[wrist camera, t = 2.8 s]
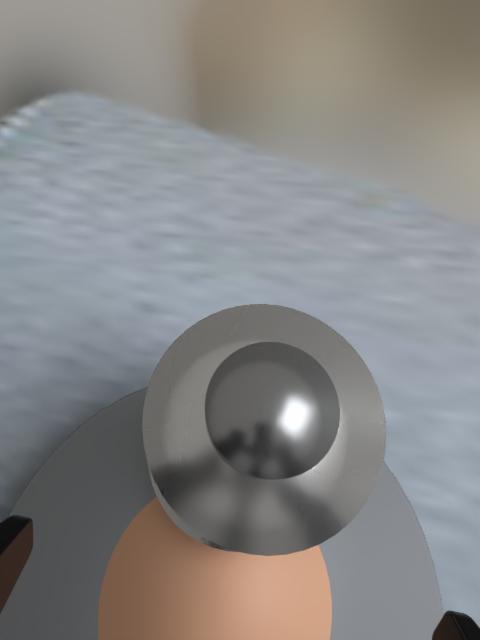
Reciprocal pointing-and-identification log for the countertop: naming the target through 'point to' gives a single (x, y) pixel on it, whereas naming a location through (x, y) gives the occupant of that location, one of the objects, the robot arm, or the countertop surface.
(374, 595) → the turntable
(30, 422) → the countertop surface
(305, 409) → the cover
